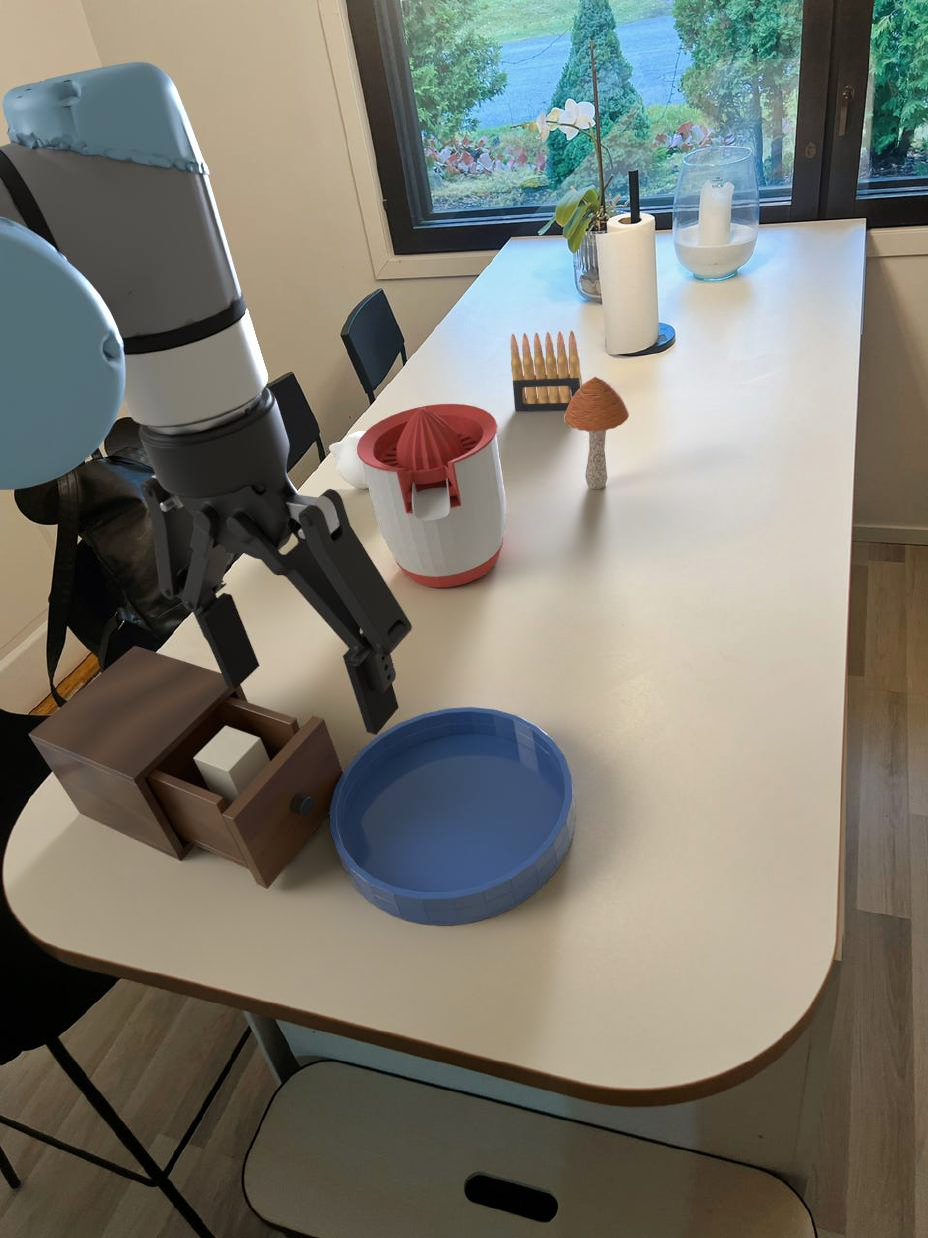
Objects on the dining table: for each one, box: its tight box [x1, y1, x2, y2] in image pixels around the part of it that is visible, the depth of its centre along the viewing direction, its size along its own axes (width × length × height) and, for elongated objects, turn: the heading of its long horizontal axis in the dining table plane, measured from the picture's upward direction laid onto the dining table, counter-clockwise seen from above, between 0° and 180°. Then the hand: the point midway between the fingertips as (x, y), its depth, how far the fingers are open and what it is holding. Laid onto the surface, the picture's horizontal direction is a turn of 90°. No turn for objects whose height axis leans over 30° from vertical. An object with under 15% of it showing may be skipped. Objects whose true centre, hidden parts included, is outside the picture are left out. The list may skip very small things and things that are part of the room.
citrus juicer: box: [357, 403, 507, 588], centre depth 99 cm, size 16×17×20 cm
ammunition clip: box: [510, 330, 583, 413], centre depth 131 cm, size 11×2×12 cm, turn 74°
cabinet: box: [28, 645, 249, 861], centre depth 79 cm, size 14×13×11 cm
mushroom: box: [563, 376, 630, 491], centre depth 110 cm, size 8×8×15 cm
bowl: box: [329, 706, 576, 927], centre depth 73 cm, size 20×20×4 cm
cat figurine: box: [328, 430, 369, 490], centre depth 121 cm, size 9×11×12 cm
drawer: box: [144, 696, 344, 889], centre depth 74 cm, size 14×11×9 cm
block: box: [194, 726, 270, 808], centre depth 74 cm, size 4×4×8 cm
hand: (310, 697), depth 60 cm, fingers open, 12 cm apart
